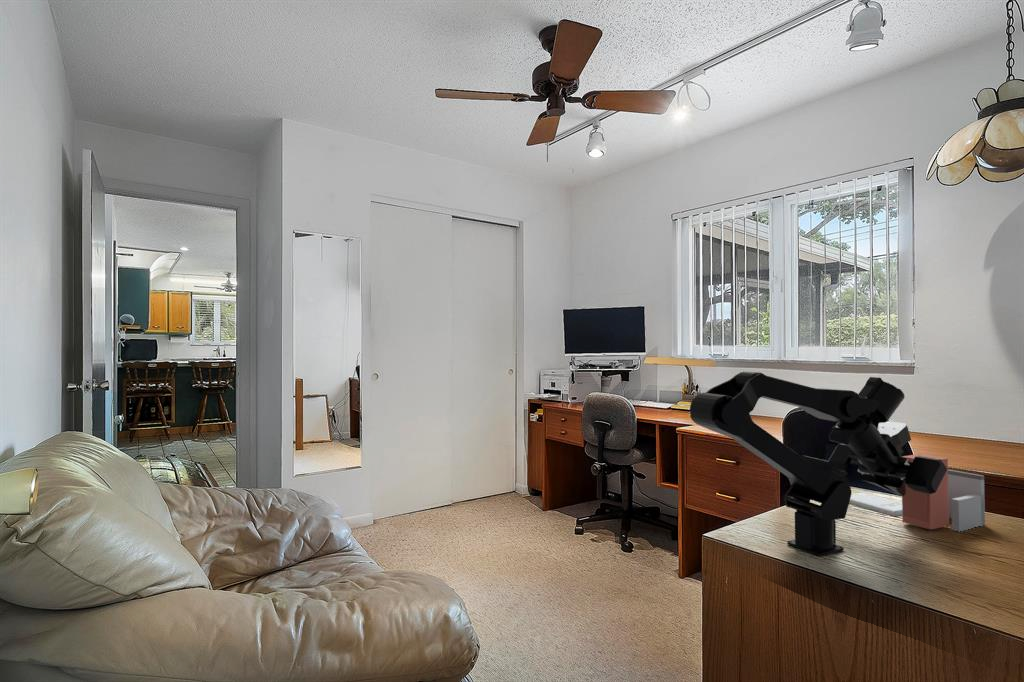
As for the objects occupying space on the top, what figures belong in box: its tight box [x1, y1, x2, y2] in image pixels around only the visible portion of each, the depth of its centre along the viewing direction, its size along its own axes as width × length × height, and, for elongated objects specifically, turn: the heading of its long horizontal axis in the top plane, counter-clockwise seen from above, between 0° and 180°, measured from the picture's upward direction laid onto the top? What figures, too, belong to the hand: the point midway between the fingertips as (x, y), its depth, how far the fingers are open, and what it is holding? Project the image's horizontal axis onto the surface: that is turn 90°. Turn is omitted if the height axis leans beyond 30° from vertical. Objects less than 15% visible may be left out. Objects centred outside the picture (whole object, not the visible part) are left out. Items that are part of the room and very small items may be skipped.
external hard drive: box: [849, 492, 902, 517], centre depth 120 cm, size 2×8×12 cm
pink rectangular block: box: [901, 453, 950, 530], centre depth 106 cm, size 7×5×13 cm
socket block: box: [948, 468, 986, 533], centre depth 109 cm, size 9×9×10 cm
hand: (902, 494), depth 104 cm, fingers closed
